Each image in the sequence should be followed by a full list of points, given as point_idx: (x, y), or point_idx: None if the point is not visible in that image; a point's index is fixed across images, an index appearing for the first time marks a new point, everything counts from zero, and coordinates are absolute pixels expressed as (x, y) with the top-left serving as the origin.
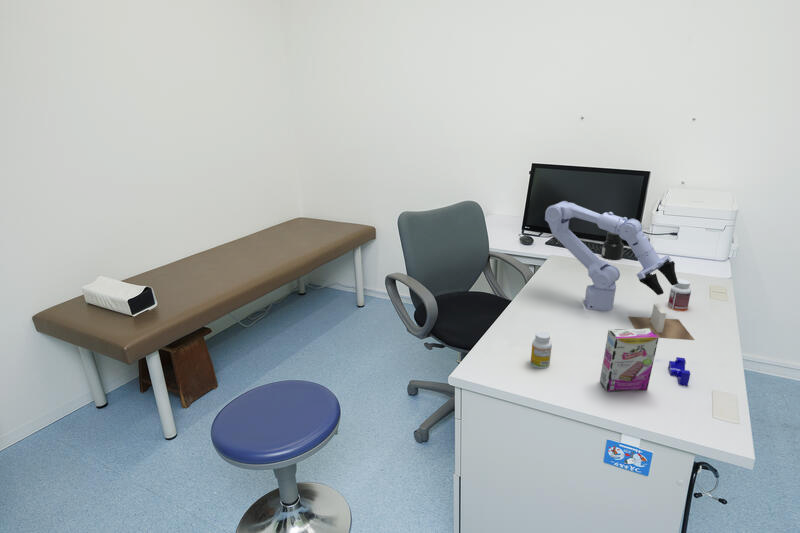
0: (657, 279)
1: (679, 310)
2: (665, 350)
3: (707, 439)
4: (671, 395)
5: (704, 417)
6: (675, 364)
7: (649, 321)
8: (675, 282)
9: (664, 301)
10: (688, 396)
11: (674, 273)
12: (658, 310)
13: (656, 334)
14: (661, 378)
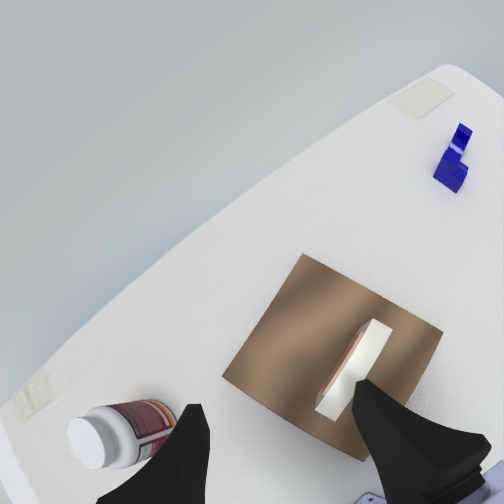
0: (412, 441)
1: (165, 410)
2: (415, 253)
3: (476, 83)
4: (487, 138)
5: (464, 97)
6: (458, 168)
7: None
8: (201, 416)
9: None
10: None
11: (169, 453)
12: (375, 359)
13: (387, 324)
14: (484, 173)
